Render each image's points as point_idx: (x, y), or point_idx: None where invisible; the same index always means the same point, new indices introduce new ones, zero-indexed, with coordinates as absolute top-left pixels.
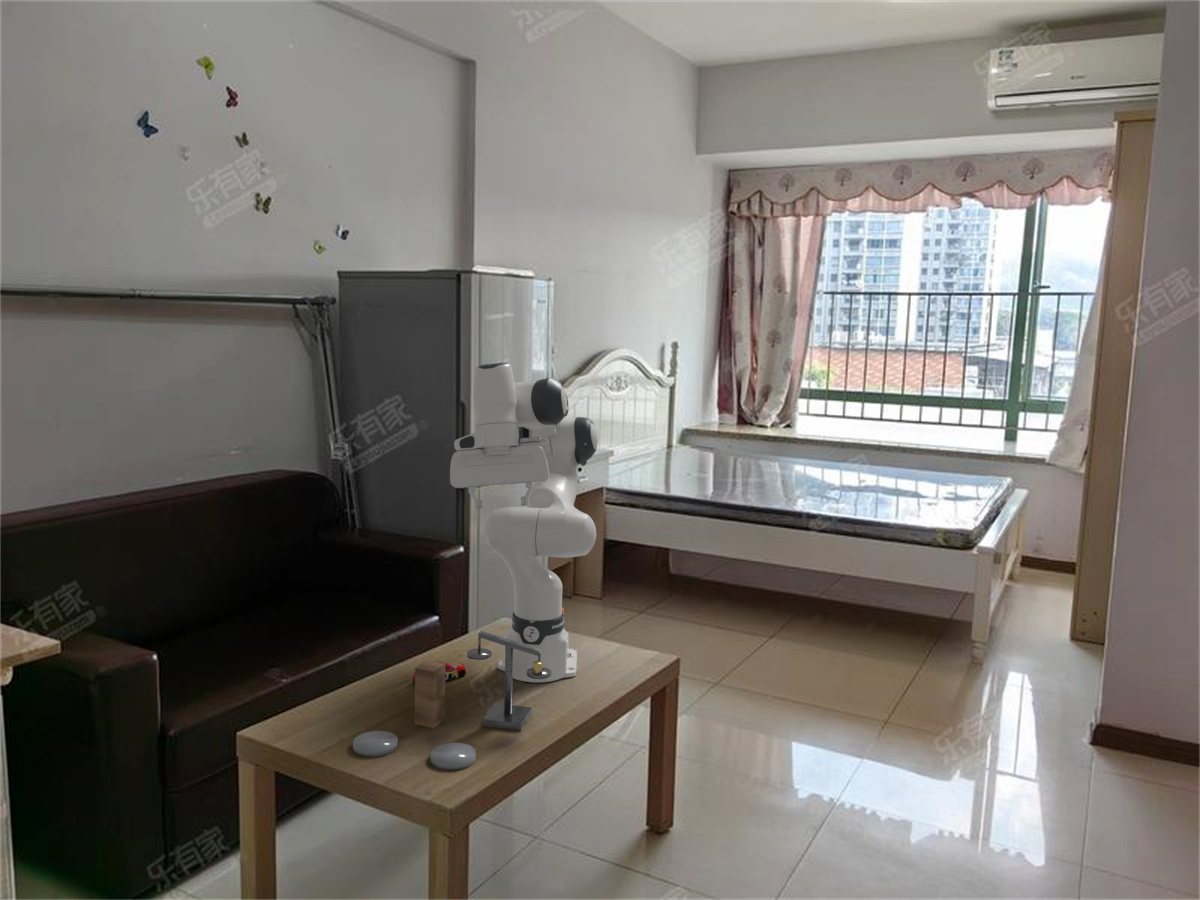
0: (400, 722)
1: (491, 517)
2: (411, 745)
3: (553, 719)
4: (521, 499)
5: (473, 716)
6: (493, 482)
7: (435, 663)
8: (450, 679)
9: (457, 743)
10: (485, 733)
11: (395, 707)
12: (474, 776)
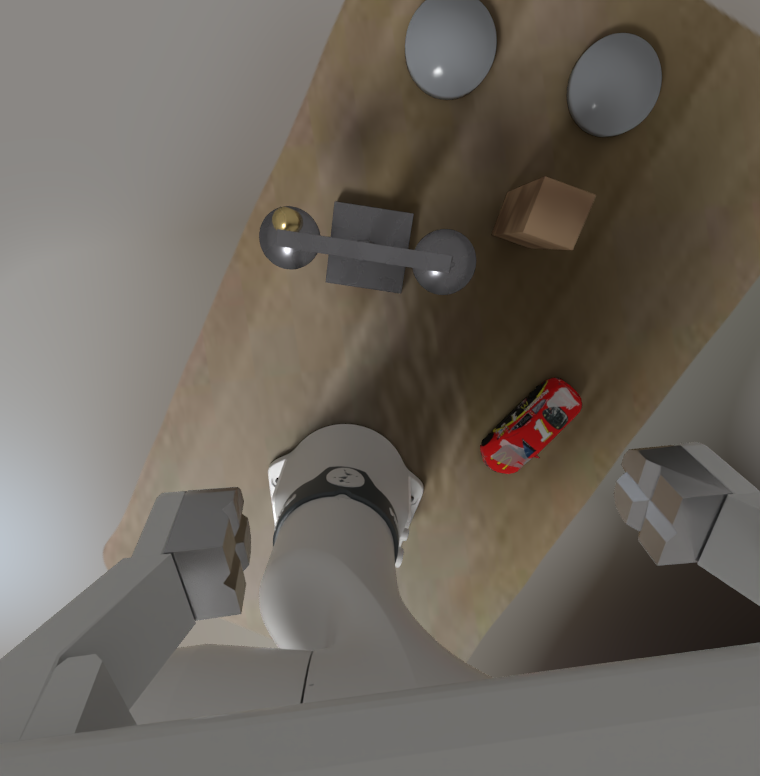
0: None
1: None
2: (539, 105)
3: None
4: (221, 524)
5: None
6: (660, 675)
7: (548, 230)
8: (506, 418)
9: (448, 93)
10: (403, 180)
11: (595, 280)
12: None
